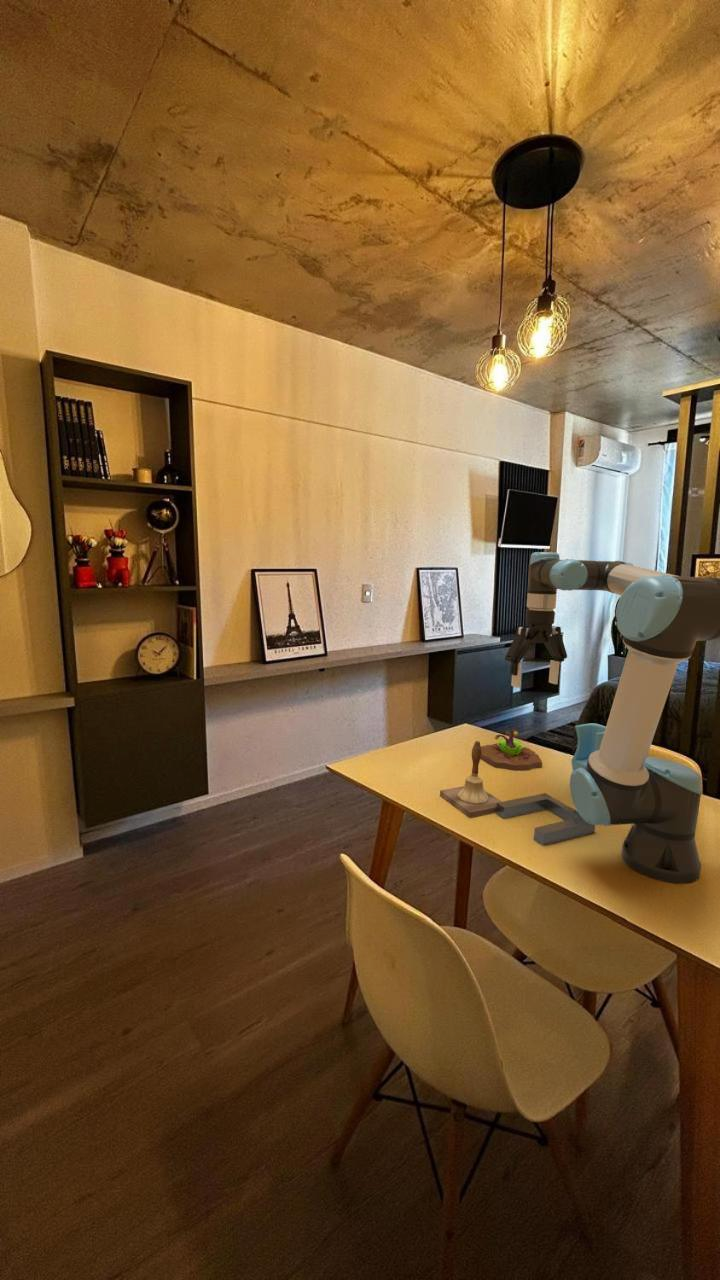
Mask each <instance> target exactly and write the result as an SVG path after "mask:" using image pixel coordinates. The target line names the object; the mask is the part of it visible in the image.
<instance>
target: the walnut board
mask: <svg viewBox="0 0 720 1280" xmlns="http://www.w3.org/2000/svg"><path fill="white" fill-rule="evenodd" d="M463 787H464V785H463V786H459V787H453V788H446V789H442V790H439V791H440V792H439V797H441V798H443V799H444V800H445V801H446V802H448V803H449V804H450V805H451V806H453V807H454V808H455V809H457V810H459V812H461V813H462V814H464V815H466V817H468V818H469V819H470V818H475V817H481V816H485V815H490V814H496V806H497V803H498V802H503V801H502V800H500V799H499V798H497V797H496V796H494V795H493V794H491V793H489V792H488V791H486V790H485V789H484V792H485V794H486V795H487V796H488V798H489V799H488V801H487V802H486V803H483V804H471V803H467V802H464V801H462V800H461V799H459V798H458V793H459V792H460V791H461V790H462V789H463Z"/></svg>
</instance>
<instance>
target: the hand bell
mask: <svg viewBox="0 0 720 1280" xmlns="http://www.w3.org/2000/svg"><path fill="white" fill-rule="evenodd" d="M481 753H482V750H481V742H480V741H479V740H475V741H474V744H473V746H472V748H471V760H472V761H471V762H472V769H471V775H468V776H466V778H465V782H464V785H463V786H464V787H463V786H462V787H463V789H462V790H461V791H460V792H459V793H458V798H459V799H461V800H462V801H464V802H467V803H471V804H483V803H486V802H487V801H488V799H489V798H488V796H487V795H486V794H485V792H484V790H485V789H484V783H483V782H484V781H483V778H481V777H480V776H479V774H478V773H479V765H480V761H481Z"/></svg>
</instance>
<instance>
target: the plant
mask: <svg viewBox="0 0 720 1280" xmlns="http://www.w3.org/2000/svg"><path fill="white" fill-rule="evenodd" d="M505 733H506V735H508V738H507V737H506V736H505V735H504V734H496V735H494V740H496V741H497V740H498V739H499V741H498V743H493V744H487V745H482V746H481V745H480V746H481V750H482V753H481V759H480V761H483V762H485V763H486V764H488V765H489V766H491V767H493V768H494V769H501V770H508V771H518V772H519V771H531V770H535V769H542V768H543V762H542V759H541V758H540V756H539V755H538V754H537V753H536V752H535V751H534V750H532V749H531V748H529V747H527V745H521V743H522V742H521V741H520V740H518V739H516V740H514V737H518V736H519V732H518V731H517V729H512V731H510V729H506V730H505ZM500 737H502V738H503V739H502V738H500Z"/></svg>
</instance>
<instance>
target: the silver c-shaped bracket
mask: <svg viewBox="0 0 720 1280" xmlns="http://www.w3.org/2000/svg"><path fill="white" fill-rule="evenodd" d="M546 810H547V811H548V812H550V813H552V814H553V815H555V816H557V817H559V818H561V820H563V821H559V822H553V823H549V824H544V825H540V826H535V827H534V831H533V833H534V834H533V840H534V841H535V842H537V843H538V844H540V845H541V846H547V845H551V844H556V843H559V842H562V841H566V840H571V839H575V838H579V837H583V836H587V835H591V834H594V833H595V830H596V825H592V824H589V823H587V822H586V821H585V820H584V819H583V818H582V817H581V816H580V815H579V813H578V812H577V810H576V809H574V808H572V807H571V806H569V805H567V804H565V803H564V802H561V801H560V800H558V799H556V798H554V797H552V796H551V795H550V794H547V793H546V792H545V793H540V794H534V795H530V796H524V797H519V798H513V799H508V800H503V801H502V802H498V803H497V806H496V813H495V814H496V815H498V816H499V817H501V818H502V819H504V820H505V819H508V818H513V817H518V816H522V815H527V814H532V813H535V812H536V813H537V812H541V811H546Z"/></svg>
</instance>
